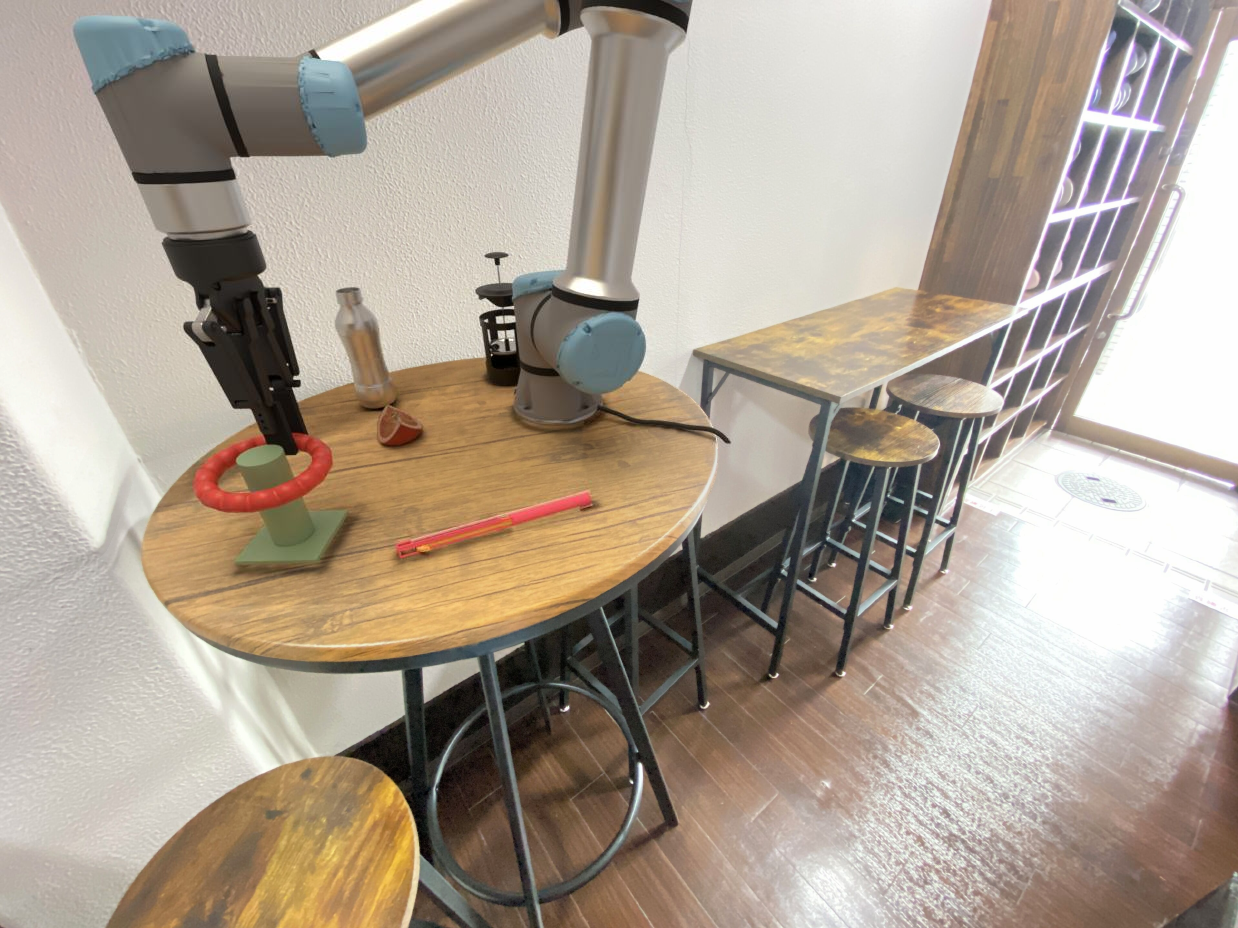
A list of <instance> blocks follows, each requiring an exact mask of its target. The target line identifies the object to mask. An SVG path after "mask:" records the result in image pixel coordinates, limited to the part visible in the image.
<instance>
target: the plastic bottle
mask: <svg viewBox="0 0 1238 928" xmlns="http://www.w3.org/2000/svg"><path fill="white" fill-rule="evenodd" d="M335 297H336V303H337V305H339V309H338V311H337V313H336V316H335V319H334V328H335V330H336V331H335V332H336V333H337V335H338V337H339V339H340V342H341V344H342V346H343V348H344V350H345V353H346V356H347V358H348V361H349V364H350V367H351V372H352V373H351V374H352V377H353V382H354V383H353V386H354V387H353V388H354V394H355V398H356V400H357V401H358V403H359V404H360V405H361V406H363V407H364V408H366V409H380V408H381V409H382V408H385V406H386V405H387V404H388V405H390V406H391V404H393V403H394V402H395V400H396V398H397V387H396V385H395V382H394V380H393V378H392V375H390V374H391V373H390V371H389V368H388V366H387V363H386V360H385V355H384V353H383V346H382V341H381V333H380V323H379V320H378V318H377V315H376V314H374V312H373V311H372V310H371V309H370V308H369V307H368V306H366V305H365V304H364V303H363V302H364V301H365V299H364V296H363V293H362V290H361V288H360V287H357V286H352V287H351V286H350V287H349V286H348V287H342V288H338V289H336V290H335Z"/></svg>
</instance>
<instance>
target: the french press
mask: <svg viewBox="0 0 1238 928" xmlns="http://www.w3.org/2000/svg"><path fill="white" fill-rule="evenodd" d="M509 255H510V254H509V253H507V252H504V251H492V252H488V253H486V254H484V255H483V256H484V258H485V259H493V260H494V261H493V262H494V266H496V271H497V281H498V282H494V283H488V284H484V285H480V286H478V287H477V288H475V289H474V292H475V295H477V297H478V300H479V301H482V300H485V299H486V300H487V301H489V302H490V303H491V304H493V305H494V306H496V307H498V309H497V308H496V309H492V310H487V311H485V312H483V313H481V314H480V315H479V316H478V321H479V326H480V327H481V334H482V340H483V347H484V354H485V368H486V376H485V377H486V380H487V382H488V383H490V384H492V385H494V386H495V385H496V386H501V387H513V386H517V385H518V381H519V376H520V372H521V365H520V356H519V347H518V338H517V330H516V321H512V322H506V317H515V312H514V308H512V307H514V303H513V301H512V297H513V288H512V285H513V282H501V273H500V272H501V271H500V266H501V259H504V258H508V257H509ZM510 307H511V308H510ZM499 317H502V322H503V323H498V322H497V318H499ZM507 331H513V333H514V336H513V337H508V333H507ZM499 332H504V337H500V338H499Z"/></svg>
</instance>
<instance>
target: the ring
mask: <svg viewBox="0 0 1238 928" xmlns="http://www.w3.org/2000/svg"><path fill="white" fill-rule="evenodd" d="M292 435H293V438H294V440H295V443H296V446H297V448H298V451H299V452H303V453H307V454H308V455H309V456H311V462H310V463H309V465H308V466H307V468H306V469H305V470H303V471H302V472H301V473H299V474H298V475H296V476H294V477H295V478H294V479H293V480H290V481H288V482H286V483H283V484H281V485H279V486H276V487H274V488H270V489H266V490H261V491H256V492H252V493H250V492H231V491H228V490H224V489H221V488H220V487H219V480H220V479H221V478H222V476H223V475H225V473H226V472H227V471H228V470H230V469H232V468H233V467H235V466H236V465H237V463H236V459H237V457H238V456H239V455H240V454H242V453H243V452H245V451H247V450H249V449H251V448H254V447H258V446H262V445H267V443H266V440H265V438H264V436H263V435H258V436H257V435H256V436H253V437H250V438H248V439H245V440H242V441H238V442H237V443H233V444H231V445H229V446H227V447H226V448H224V449H222V450H221V451H218V452H217V453H216V454H214V455H212V456H210V457H209V458H208V459H207V460H206V461H205V463H203V464H202V465H201V467H200V468H199V469H198V470H197V471H196V473H195V476H194V480H193V484H192V491H193V494H194V495H195V496H196V498H197V499H198V500H199V501H200V503H201V504H202V505H203V506H205V507H206V508H209V509H212V510H216V511H219V512H222V513H225V514H238V513H239V514H243V513H245V514H247V513H249V514H250V513H251V514H252V513H257V512H259V511H262V510H267V509H271V508H275V507H279V506H282V505H285V504H287V503H289V502H291V501H293V500H296V499H298V498H300V497H305V496H306V495H307V494H309V493H310V492H311V491H313V490H314V489H315V488H317V487H318V486H319V485H320V484H322V483H323V482H324V481H325V479H326V477H327V476H328V475H329V473H330V471H331V470H332V468H333V466H334V465H333V464H334V462H333V452H332V449H331V448H330V447H329V446H328V444H327V443H325V442H324V441H323V440H322V439H320V438H319V437H316V436H313V435H310V434H309V435H306V434H302V433H292Z"/></svg>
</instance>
